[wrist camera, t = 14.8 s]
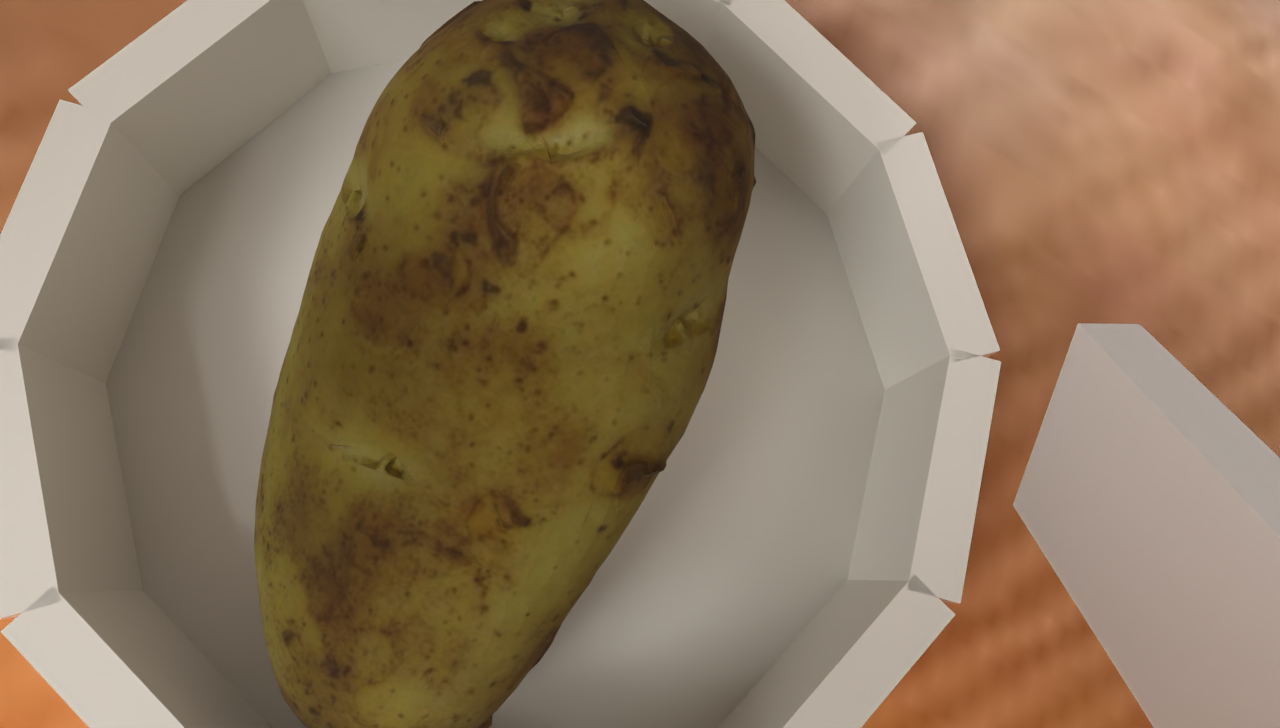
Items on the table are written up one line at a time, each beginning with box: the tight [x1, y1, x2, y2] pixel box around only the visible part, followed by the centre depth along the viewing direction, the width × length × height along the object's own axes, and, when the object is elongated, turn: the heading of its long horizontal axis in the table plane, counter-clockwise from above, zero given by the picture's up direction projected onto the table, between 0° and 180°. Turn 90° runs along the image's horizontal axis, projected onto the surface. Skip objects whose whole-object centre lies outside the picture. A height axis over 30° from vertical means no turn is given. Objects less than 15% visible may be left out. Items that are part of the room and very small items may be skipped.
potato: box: [254, 0, 756, 728], centre depth 17 cm, size 8×13×8 cm, turn 141°
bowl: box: [0, 0, 1001, 728], centre depth 20 cm, size 18×18×4 cm
